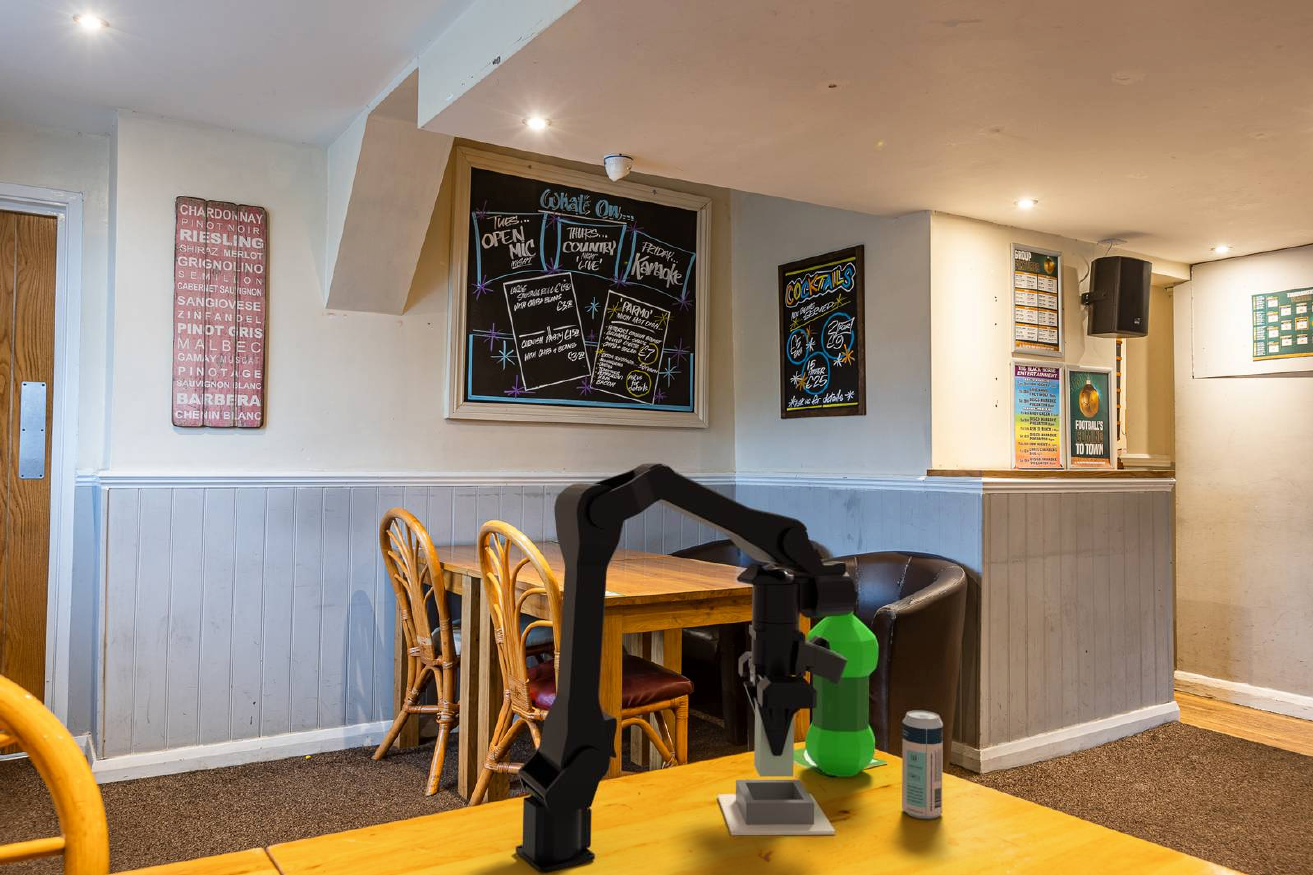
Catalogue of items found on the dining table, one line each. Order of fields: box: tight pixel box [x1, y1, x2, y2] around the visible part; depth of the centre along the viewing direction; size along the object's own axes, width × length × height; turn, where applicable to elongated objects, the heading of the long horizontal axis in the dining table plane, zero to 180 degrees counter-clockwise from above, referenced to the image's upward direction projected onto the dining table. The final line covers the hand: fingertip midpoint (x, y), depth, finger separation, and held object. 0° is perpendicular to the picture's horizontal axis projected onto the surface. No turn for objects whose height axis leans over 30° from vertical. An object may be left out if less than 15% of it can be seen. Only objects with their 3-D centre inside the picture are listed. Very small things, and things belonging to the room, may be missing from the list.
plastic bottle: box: [804, 601, 879, 778], centre depth 130 cm, size 10×10×25 cm
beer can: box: [901, 710, 944, 820], centre depth 114 cm, size 5×5×12 cm
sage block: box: [753, 704, 795, 777], centre depth 112 cm, size 4×4×8 cm
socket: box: [717, 779, 836, 836], centre depth 112 cm, size 12×12×3 cm
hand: (773, 750), depth 112 cm, fingers closed on sage block, 4 cm apart
